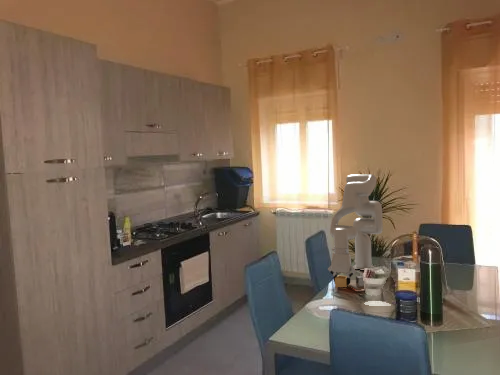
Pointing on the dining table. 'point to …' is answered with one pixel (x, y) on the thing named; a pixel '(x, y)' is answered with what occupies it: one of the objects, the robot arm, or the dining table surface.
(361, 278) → the post
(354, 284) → the base plate
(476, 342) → the dining table surface
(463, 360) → the dining table surface
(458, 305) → the dining table surface
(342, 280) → the orange cube
